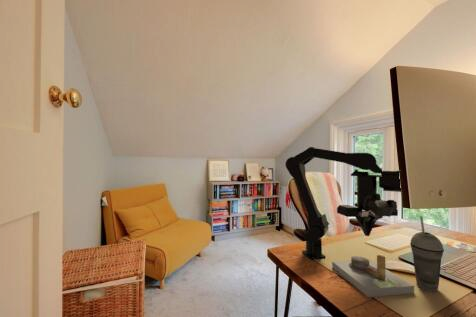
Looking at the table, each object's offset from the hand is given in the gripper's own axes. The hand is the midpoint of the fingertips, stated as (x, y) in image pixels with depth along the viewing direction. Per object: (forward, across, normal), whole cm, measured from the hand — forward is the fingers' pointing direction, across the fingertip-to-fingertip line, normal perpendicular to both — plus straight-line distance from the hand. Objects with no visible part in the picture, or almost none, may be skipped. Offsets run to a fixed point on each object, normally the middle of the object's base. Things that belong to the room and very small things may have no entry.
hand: (366, 235), depth 70 cm
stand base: (+11, -4, -6) cm, 13 cm away
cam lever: (+9, -4, -6) cm, 11 cm away
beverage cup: (+11, +9, -12) cm, 19 cm away
